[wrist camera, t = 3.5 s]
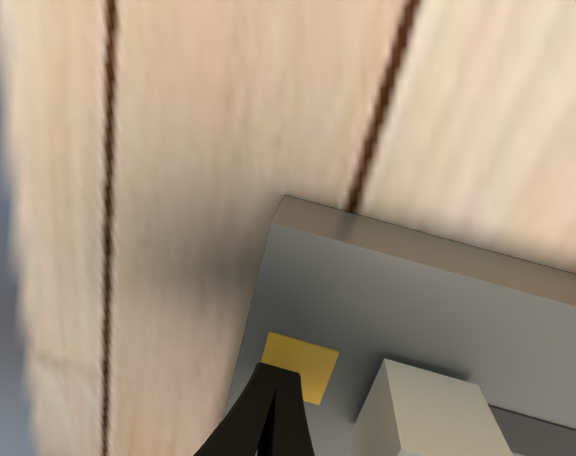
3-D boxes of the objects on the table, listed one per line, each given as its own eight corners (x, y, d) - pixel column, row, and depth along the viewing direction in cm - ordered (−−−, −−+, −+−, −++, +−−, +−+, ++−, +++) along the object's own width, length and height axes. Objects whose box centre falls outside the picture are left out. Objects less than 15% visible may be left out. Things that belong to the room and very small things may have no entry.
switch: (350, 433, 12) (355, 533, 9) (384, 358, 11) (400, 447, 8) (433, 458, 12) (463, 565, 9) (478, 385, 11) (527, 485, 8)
